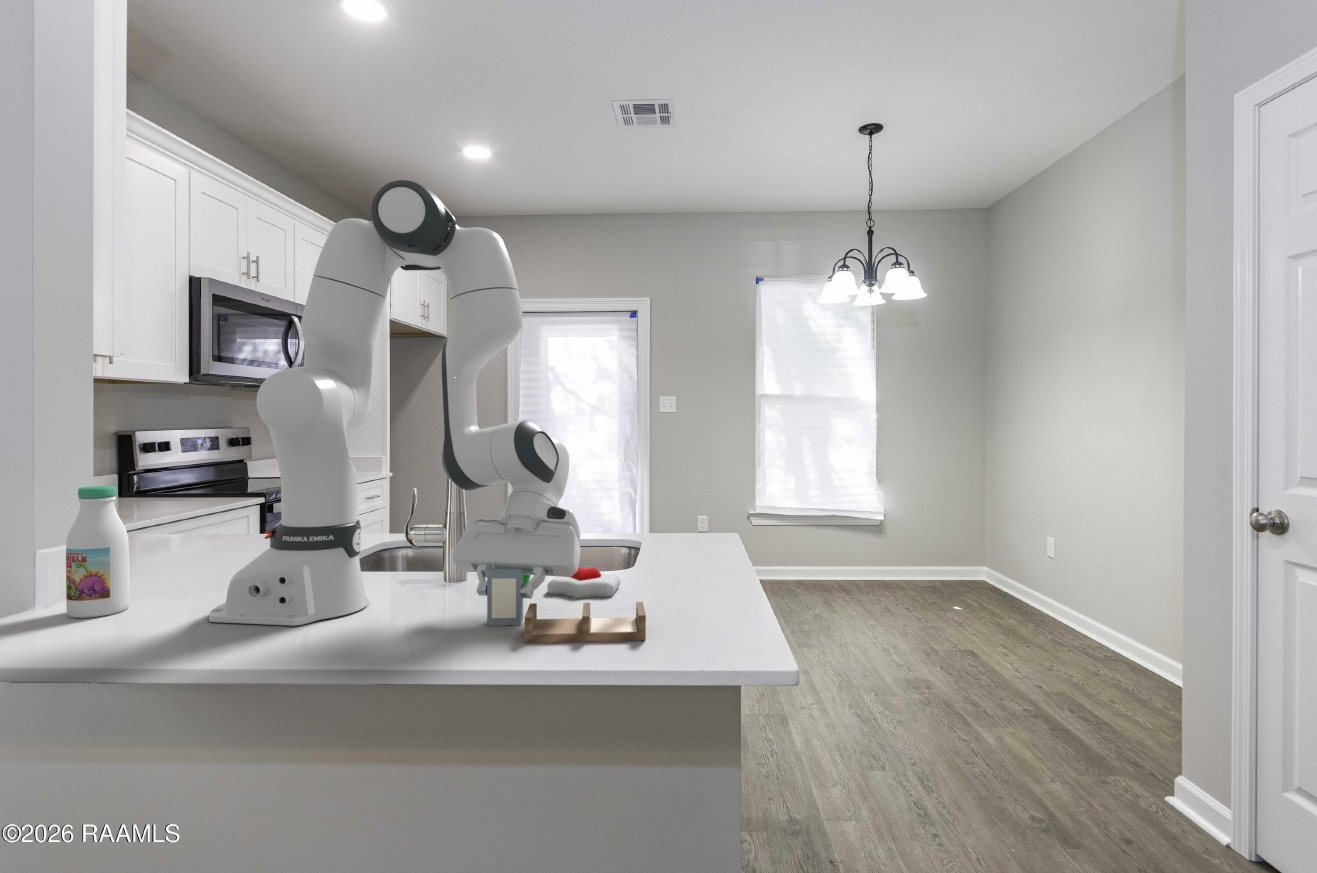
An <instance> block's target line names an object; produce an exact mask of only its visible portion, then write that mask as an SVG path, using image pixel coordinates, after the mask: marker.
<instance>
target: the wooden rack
mask: <svg viewBox="0 0 1317 873" xmlns="http://www.w3.org/2000/svg"><path fill="white" fill-rule="evenodd" d="M635 606H636V607H635V608H636V609H635V617H596V618H595V617H591V602H583V605H582V613H581V614H582V616H581V617H580V618H579V617H578V618H538V616H537V615H538V605H537V602H536V603H535V602H534V603H529V605H528V607H527V610H526V613H525V615H524V643H525V644H529V643H530V644H531V643H532V644H533V643H534V644H535V643H536V644H537V643H585V642H586V641H593V642H629V641H630V642H633V640H646V639H647V638H646V635H647V634H646V632H647V631H646V628H647V627H646V622H647V617H646V616H647V615H646V610H645V609H646V608H645V606H644V602H643V601H636V603H635Z"/></svg>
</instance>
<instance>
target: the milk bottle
mask: <svg viewBox="0 0 1317 873" xmlns="http://www.w3.org/2000/svg"><path fill="white" fill-rule="evenodd" d="M77 491H78V492H77V497H78V502H79V504H80V505H79V510H78V513H77V516H76V518H75V520H74V522H73V524H72V525H71V527H70V529H69V532H68V534H67V538H66V546H65V584H66V585H65V588H66V591H65V594H66V595H65V596H66V598H65V599H66V602H65V603H66V614H67V616H68V617H69V618H73V619H87V618H97V617H105V616H110V615H114V614H118V613H120V612H124V611H125V610H127V609H128V608H129V607H130V605H131V604H130V603H131V602H130V601H131V599H130V598H131V597H130V596H131V594H130V591H131V589H130V586H131V585H130V582H131V581H130V576H131V575H130V574H131V573H130V547H129V546H130V545H129V535H128V531H127V529H126V527H125V524H124V523H123V521H122V519H121V518H120V515H119V514H118V512H117V509H116V506H115V501H116V499H117V498H116V496H117V489H116V487H115V485H114V486H112V485H93V486H85V487H79V488H78V489H77Z"/></svg>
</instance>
